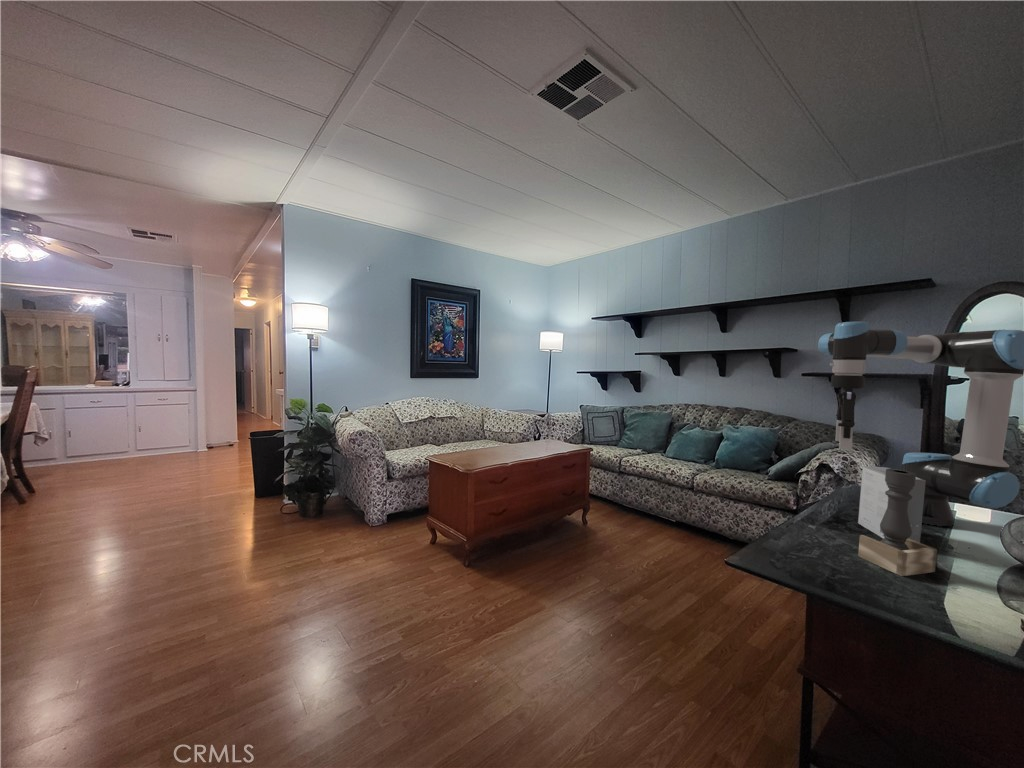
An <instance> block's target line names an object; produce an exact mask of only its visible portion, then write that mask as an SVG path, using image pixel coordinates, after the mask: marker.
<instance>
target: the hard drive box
mask: <svg viewBox="0 0 1024 768" xmlns="http://www.w3.org/2000/svg"><path fill="white" fill-rule="evenodd" d="M886 469H891V468H890V467H887V466H886V467H884V466H873V465H871V466H869V465H862V469H861V482H860V494H859V495H860V496H859V505H858V506H859V507H858V517H857V518H858V519H857V524H859V525H861V526H862V527H863V528H865V529H866V530H869V531H870V532H872V533H874V534H875V535H876V536H878V537H879V538H882V539H884V538H885V537H884V536H883V535H884V534H883V532H882V531H881V529H880V523H881V521H882V519H883V516H884V514H885V512H886V510H887V506H888V496H887V495H886V494H885V491H887V490H889V488H888V486H887V485H886V481H885V474H886ZM925 482H926V481H925V480H923V479H920V478H917V477H916V480H915V486H914V487H913V489H912V490H911V492H909V494H910V495H911V496H912V497H913V498H912V499H911V500H910V501H908V516H909V521H910V525H911V530H912V534H911V536H910V537H909V538H908V539H911V540H913V541H916V542H919V543H921V536H922V527H923V526H922V515H923V504H924V493H925Z"/></svg>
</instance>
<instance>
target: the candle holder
mask: <svg viewBox="0 0 1024 768" xmlns="http://www.w3.org/2000/svg"><path fill="white" fill-rule="evenodd" d="M915 480H916V474H915V473H913V472H909V471H905V470H902V469H898V468H890V469H886V474H885V481H886V485H887V486H888V488H889V490H887V491H885V494H886V495H887V496H888V506H887V510H886V512H885V514H884V516H883V519H882V521H881V523H880V529H881V531H882V532H883V534H884V535H883V536H884V537H885V538H884V539H883V538H882V539H881V540H880V541H879V542H882V543H884V544H887V545H889V546H892V547H894V548H897V549H899V550H909V548H908V547H907V545H906V544H905V542H906V539H908V538H909V537H910V536H911V534H912V530H911V525H910V521H909V516H908V501H910V500H911V499H912V498H913V497H912V496H911V495H910V494H909V492H911V490H912V489H913V487H914V486H915Z"/></svg>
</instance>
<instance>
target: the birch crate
mask: <svg viewBox="0 0 1024 768" xmlns="http://www.w3.org/2000/svg"><path fill="white" fill-rule="evenodd" d="M905 544H906V545H907V547H908V548H909V550H899V549H897V548H894V547H892V546H889V545H887V544H884V543H882V542H880V541H879V540H877V539H874V538H872V537H869V536H867V535H866V534H865V535H864V534H860V535H859V542H858V552H857V553H858V555H857V557H860V558H861V559H863V560H865V561H867V562H870V563H872V564H874V565H876V566H879V567H881V568H883V569H885V570H887V571H889V572H892V573H894V574H896V575H898V576H900V577H904V576H905V577H906V576H907V577H908V576H914V575H922V574H928V573H929V574H930V573H935V572H936V567H937V566H936V565H937V555H938V554H937V553H938V549H937V548H935V547H932V546H930V545H926V544H924V543H921V542H920V543H919V542H916V541H913V540H911V539H906V542H905Z"/></svg>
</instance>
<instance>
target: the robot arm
mask: <svg viewBox="0 0 1024 768" xmlns="http://www.w3.org/2000/svg"><path fill="white" fill-rule="evenodd" d="M817 348H818V351H819V352H820V353H822V355H825V356H832V362H830V363H829V366H830V367H831V368H832V369H831V370H832V371H831V372H832V373H833V374H832V375H831V379H830V387H832V388H838V389H839V388H840V389H839V390H838V393H837V397H836V398H837V408H836V409H837V411H836V416H835V417H836V423H835V425H836V427H835V440H834V441H835V442H839V445H838V449H839V450H847V451H852V449H853V437H854V436H853V435H854V434H853V433H854V427H855V425H856V424H855V407H856V400H857V399H856V398H857V397H856V396H857V395H856V393H855V391H854V389H858V390H859V389H863V388H864V387H865V380H866V379H865V374H866V371H867V370H866V369H867V357H869V358H871V357H873V358H884V359H900V360H901V359H902V360H913V361H914V362H917V363H920V364H930V365H936V366H937V365H938V366H944V367H951V368H964V369H963V374H965V375H966V376H967V377H969V387H968V393H967V400H966V408H965V412H964V413H965V414H964V422H963V429H962V433H961V434H962V436H961V443H960V450H959V453H957V454H954V455H951V454H946V453H944V454H943V453H937V452H936V453H935V452H934V453H933V452H912V451H911V452H907V453H905V454H904V455H903V459H902V462H901V470H905V471H909V472H913V473H915V474H916V477H917V478H920V479H923V480H925V481H926V482H925V493H924V504H923V515H922V523H924V524H923V525H927V524H930V525H929V526H933V525H937V526H936V527H942V526H950V527H953V526H954V525H955V517H954V515H953V512H952V509H951V506H950V503H949V497H951V498H953V499H957V500H961V501H964V502H967V503H970V504H973V505H975V506H982V507H985V508H990V509H997V508H1003V507H1006V506H1007V505H1009V504H1010V503H1011V502H1013V501H1014V499H1016V497H1017V496H1018V494H1019V492H1020V488H1021V487H1020V486H1021V483H1020V480H1019V478H1018V476H1016V475H1015V474H1014V473H1011V472H1010V465H1009V464H1008V463H1007V462H1006V461H1005V460H1004V458H1003V457H1004V452H1005V445H1006V444H1005V443H1006V438H1007V431H1008V424H1009V419H1010V418H1009V417H1010V413H1011V412H1010V411H1011V403H1012V398H1013V397H1012V396H1013V391H1014V386H1015V385H1014V384H1015V381H1016V380H1018V379H1020V378H1021V377H1023V376H1024V330H1021V329H995V330H978V331H962V332H961V331H959V332H951V333H950V332H949V333H941V334H921V335H918V336H907V335H906V334H905V332H904V331H901V330H898V329H897V330H895V329H891V328H888V329H870V327H869V323H868V322H867V321H845V322H844V321H843V322H838V323H837V324H836V325H835V328H834V332H830V333H829V332H828V333H826V334H823V335H822V336H820V338H819V339H818V344H817ZM863 374H864V375H863ZM952 525H953V526H952Z"/></svg>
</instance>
